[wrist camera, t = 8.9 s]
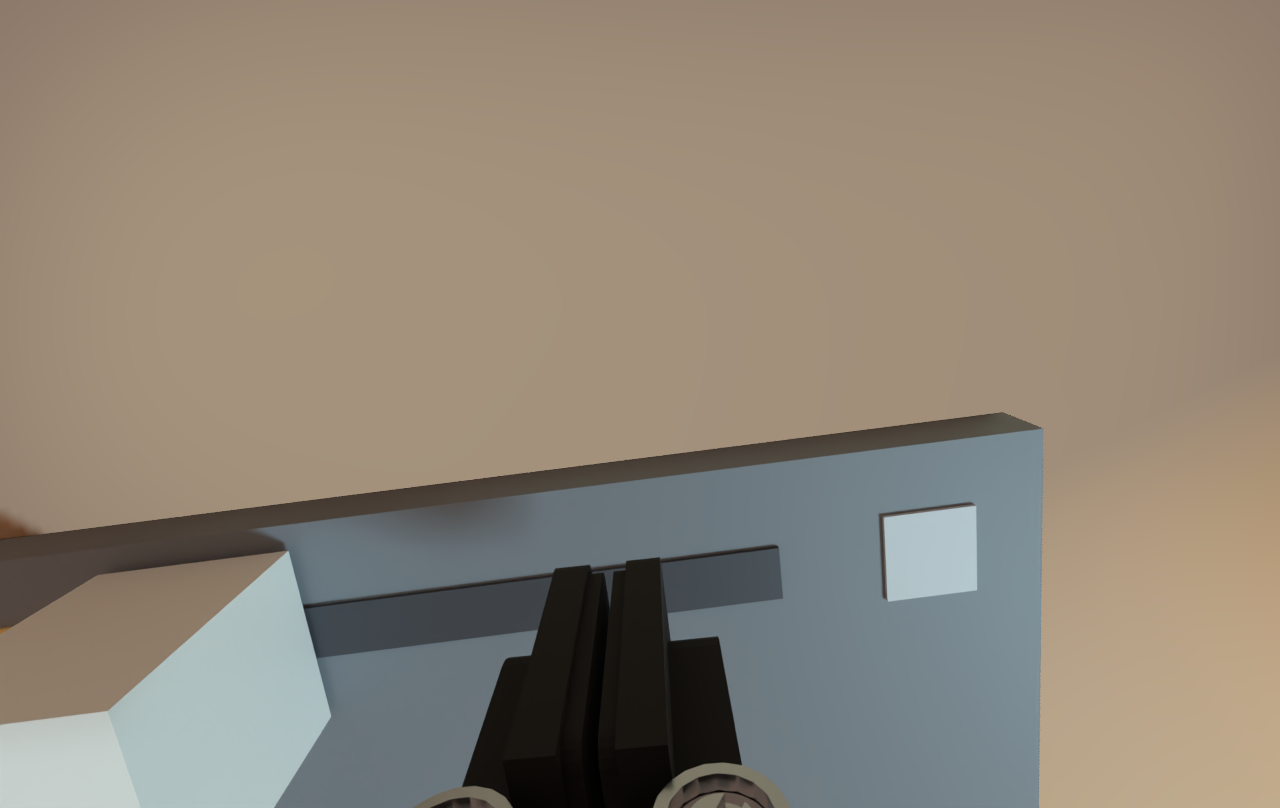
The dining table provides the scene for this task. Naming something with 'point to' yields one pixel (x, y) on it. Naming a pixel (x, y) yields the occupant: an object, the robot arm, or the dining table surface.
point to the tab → (162, 690)
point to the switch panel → (695, 598)
